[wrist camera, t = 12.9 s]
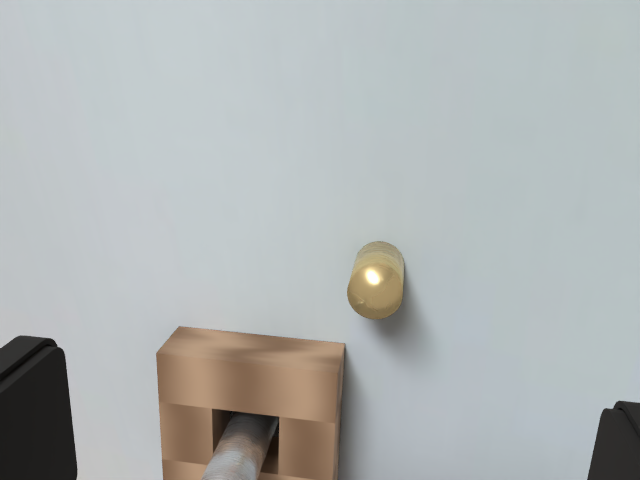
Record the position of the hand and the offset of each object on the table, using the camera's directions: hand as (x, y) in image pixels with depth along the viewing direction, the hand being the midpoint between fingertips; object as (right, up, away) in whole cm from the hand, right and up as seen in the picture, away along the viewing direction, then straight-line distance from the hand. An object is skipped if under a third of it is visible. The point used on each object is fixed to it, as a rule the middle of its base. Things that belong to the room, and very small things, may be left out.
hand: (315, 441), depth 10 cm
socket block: (-4, -9, +34) cm, 35 cm away
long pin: (-4, -9, +34) cm, 35 cm away
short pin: (+4, +2, +29) cm, 29 cm away
